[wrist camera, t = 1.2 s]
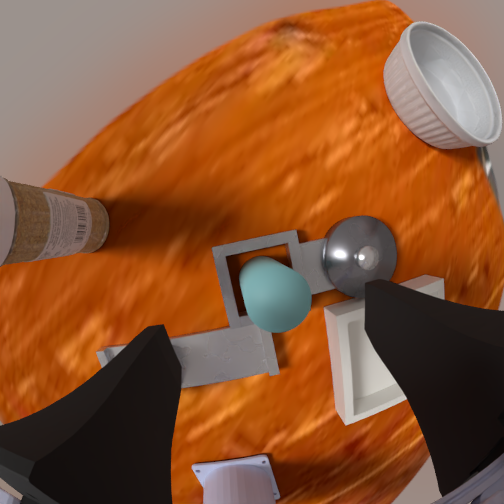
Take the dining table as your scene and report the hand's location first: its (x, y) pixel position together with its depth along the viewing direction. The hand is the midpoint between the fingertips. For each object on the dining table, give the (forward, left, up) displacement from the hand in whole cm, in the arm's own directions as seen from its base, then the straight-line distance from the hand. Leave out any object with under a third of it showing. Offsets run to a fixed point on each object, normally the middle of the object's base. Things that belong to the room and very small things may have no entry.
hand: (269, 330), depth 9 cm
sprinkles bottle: (+7, +12, -12) cm, 18 cm away
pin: (0, -1, -12) cm, 12 cm away
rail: (-6, +6, -12) cm, 15 cm away
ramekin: (+14, -22, -12) cm, 29 cm away
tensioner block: (0, -5, -12) cm, 13 cm away
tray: (-9, -11, -12) cm, 19 cm away
